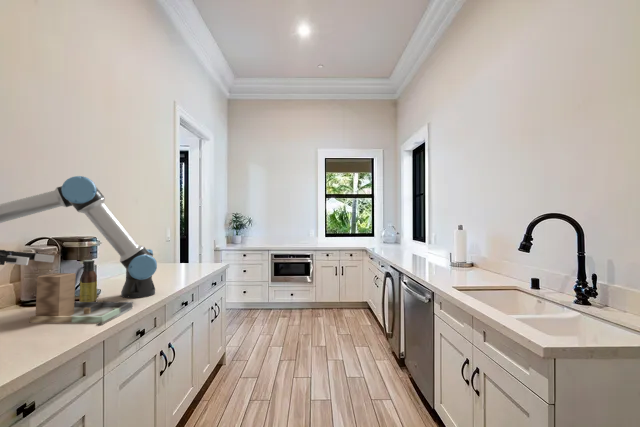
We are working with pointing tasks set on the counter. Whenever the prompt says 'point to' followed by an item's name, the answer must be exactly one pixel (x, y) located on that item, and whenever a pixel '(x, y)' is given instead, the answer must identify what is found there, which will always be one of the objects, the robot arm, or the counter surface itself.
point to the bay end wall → (110, 314)
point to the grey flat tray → (86, 313)
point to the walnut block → (55, 294)
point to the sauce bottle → (88, 282)
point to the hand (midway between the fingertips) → (41, 260)
